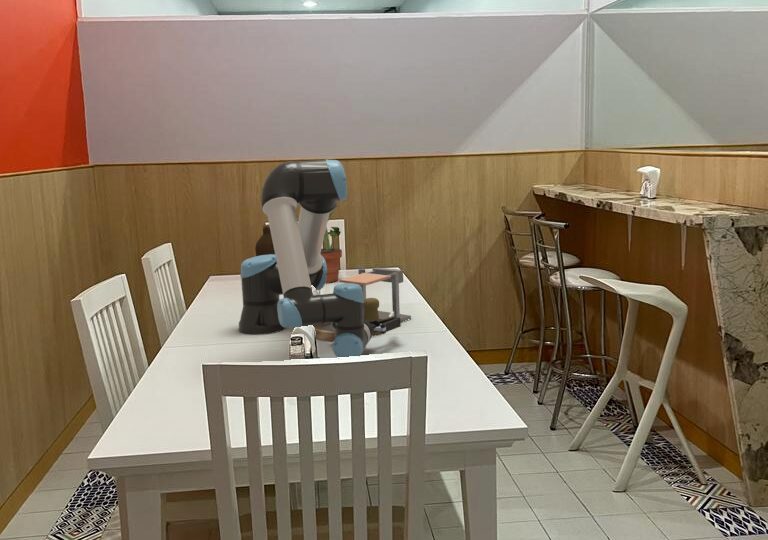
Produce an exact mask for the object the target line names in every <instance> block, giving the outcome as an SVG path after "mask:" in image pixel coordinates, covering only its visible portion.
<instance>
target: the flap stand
mask: <svg viewBox="0 0 768 540" xmlns="http://www.w3.org/2000/svg"><path fill="white" fill-rule="evenodd" d="M357 272H358V274H362V273H366V268H360V269H358V271H357ZM360 286H361V287H362V292H363V300H364V299H367V285H366V286H365V285H360ZM391 297H392V298H391V300H392V302H391V304H392V312H394V316H396V318H400V322H401V323H404V322H406V321H405V320H407V321H409V320H408V319H410V320H412V315H409V314H401V313H400V283H399V274H398V273H397V272H393V273H392V283H391ZM390 313H391V312H390V311H383V310H381V311H380V310H378V314H379V320H383V319H387V318H388V317H389V315H390ZM403 321H404V322H403Z"/></svg>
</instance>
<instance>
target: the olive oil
mask: <svg viewBox="0 0 768 540" xmlns="http://www.w3.org/2000/svg"><path fill="white" fill-rule="evenodd" d="M254 250H255V257H256V256H261V255H269V254H274V255H275V251H274V246H273V241H272V236H271V231H270V226H269V224H262V235H261V236H260V237H259V239H258V240H257V242H256V243H255V249H254Z"/></svg>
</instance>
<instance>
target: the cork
mask: <svg viewBox="0 0 768 540" xmlns="http://www.w3.org/2000/svg"><path fill="white" fill-rule="evenodd" d="M363 301H364V319H366V320H367V321H371V320H376V321H378V320H379V314H378V311H379V307H380V300H379V299H378V298H376V297H366V299H364V300H363ZM372 324H373V323H372ZM379 334H380V335H382V334H381V332H380V331H377V332H375V333H373V335H372V337H374V336H375V335H376V336H379Z"/></svg>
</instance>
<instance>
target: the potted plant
mask: <svg viewBox="0 0 768 540" xmlns="http://www.w3.org/2000/svg"><path fill="white" fill-rule="evenodd" d="M337 207H338V204H337V205H336V208H335V209H334V210H333V211H332V212H330V213H329V218H328V222H329V221H330V219H331V218H332V215H333V213H334V212H335V210H336V209H337ZM341 233H342V232H341V230H340V228H339V227H338V226H330V230H329V231H328V228H327V226H326V231H325V235H324V240H325V248H321V253H320V254H321V255H322V256H323V257H324V259H325V261H326V265H327V274H326V275H327V279H326V283H325V284H330V283H334V282H337V281H338V280H339V272H340V263H341V261H340V259H341V258H342V256H343V250H342V249H340V248H334V247H333V244H334V238H335V237H336V236H338V237H339V236H340V235H341ZM329 237H332V240H331V243H330V238H329Z"/></svg>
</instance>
